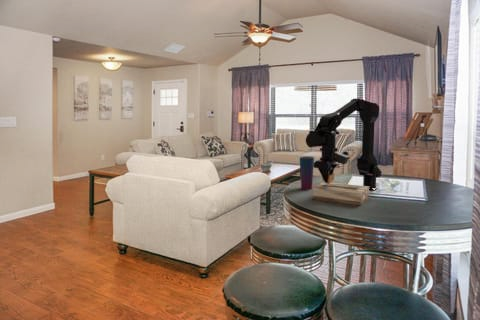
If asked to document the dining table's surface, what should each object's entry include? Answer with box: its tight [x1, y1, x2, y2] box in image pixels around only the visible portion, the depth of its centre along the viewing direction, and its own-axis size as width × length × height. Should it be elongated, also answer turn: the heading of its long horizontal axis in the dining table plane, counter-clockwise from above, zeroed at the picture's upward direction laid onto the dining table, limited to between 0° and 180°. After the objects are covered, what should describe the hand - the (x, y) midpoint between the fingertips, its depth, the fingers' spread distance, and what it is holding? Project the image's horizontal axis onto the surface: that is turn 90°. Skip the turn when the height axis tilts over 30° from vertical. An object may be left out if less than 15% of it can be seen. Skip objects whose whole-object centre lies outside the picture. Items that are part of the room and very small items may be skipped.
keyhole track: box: [312, 181, 370, 206], centre depth 152 cm, size 13×20×5 cm, turn 57°
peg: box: [321, 172, 335, 187], centre depth 155 cm, size 4×4×8 cm
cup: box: [299, 155, 315, 191], centre depth 171 cm, size 7×7×15 cm
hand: (328, 181), depth 155 cm, fingers closed on peg, 4 cm apart
